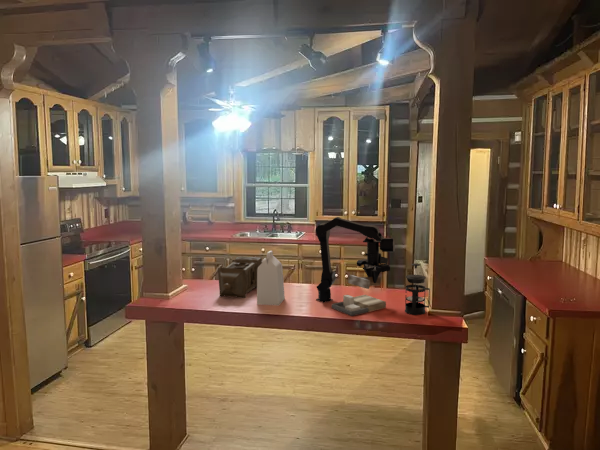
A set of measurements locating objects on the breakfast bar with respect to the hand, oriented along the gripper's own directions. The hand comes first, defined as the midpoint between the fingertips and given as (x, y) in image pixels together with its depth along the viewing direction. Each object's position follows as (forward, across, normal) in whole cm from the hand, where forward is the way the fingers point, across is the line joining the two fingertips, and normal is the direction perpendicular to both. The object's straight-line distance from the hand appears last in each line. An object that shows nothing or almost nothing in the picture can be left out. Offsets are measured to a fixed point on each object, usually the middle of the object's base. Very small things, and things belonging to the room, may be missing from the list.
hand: (373, 282), depth 225 cm
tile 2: (+8, -4, +16) cm, 18 cm away
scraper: (+1, 0, +3) cm, 3 cm away
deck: (+11, 0, +4) cm, 12 cm away
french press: (+12, -20, -9) cm, 25 cm away
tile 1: (+8, +4, +11) cm, 14 cm away
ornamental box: (+11, +58, +46) cm, 75 cm away
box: (+11, 0, +15) cm, 19 cm away
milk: (+11, +34, +39) cm, 53 cm away
